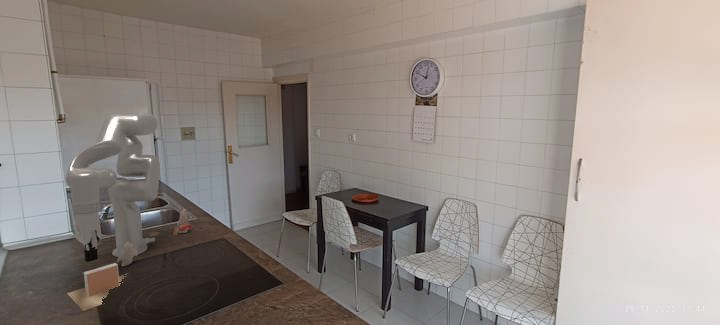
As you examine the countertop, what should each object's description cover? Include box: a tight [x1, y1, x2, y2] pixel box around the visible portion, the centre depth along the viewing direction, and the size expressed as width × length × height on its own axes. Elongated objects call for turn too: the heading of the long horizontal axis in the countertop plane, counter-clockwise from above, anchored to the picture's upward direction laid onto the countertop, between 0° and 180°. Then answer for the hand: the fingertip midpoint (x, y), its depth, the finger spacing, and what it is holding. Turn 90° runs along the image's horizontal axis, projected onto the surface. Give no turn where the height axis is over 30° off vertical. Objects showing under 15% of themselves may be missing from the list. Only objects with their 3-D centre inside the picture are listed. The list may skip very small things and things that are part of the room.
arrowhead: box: [116, 242, 139, 267], centre depth 136 cm, size 8×3×10 cm, turn 154°
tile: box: [83, 262, 120, 297], centre depth 117 cm, size 9×2×8 cm, turn 144°
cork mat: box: [66, 273, 128, 312], centre depth 118 cm, size 18×16×1 cm
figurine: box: [173, 209, 192, 236], centre depth 173 cm, size 9×7×12 cm
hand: (91, 260), depth 120 cm, fingers closed
